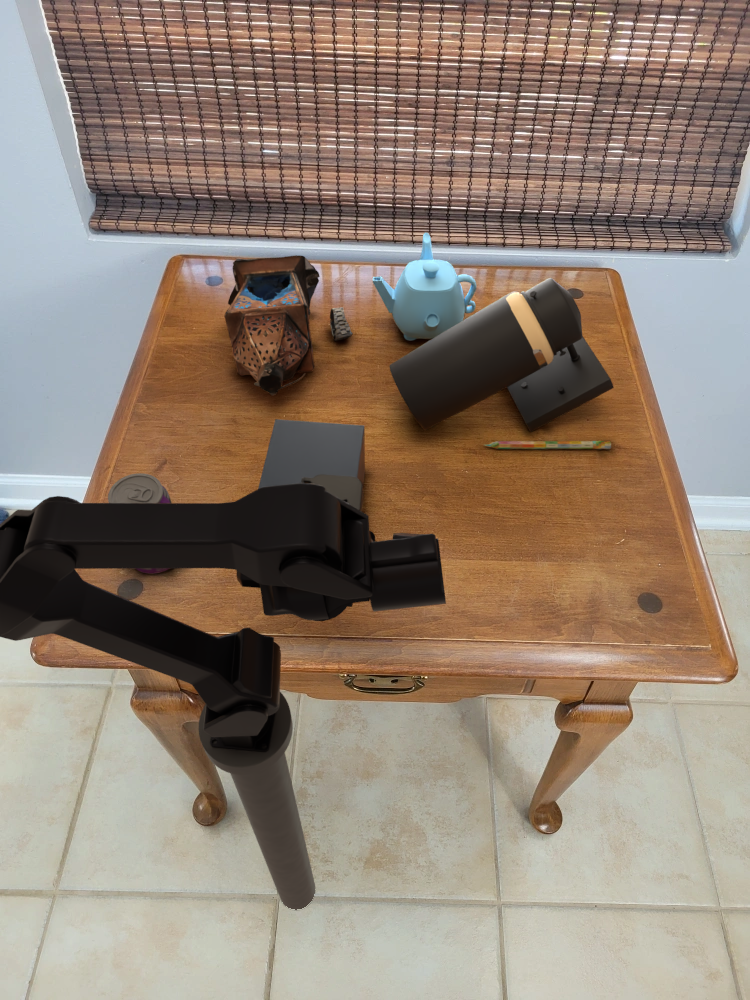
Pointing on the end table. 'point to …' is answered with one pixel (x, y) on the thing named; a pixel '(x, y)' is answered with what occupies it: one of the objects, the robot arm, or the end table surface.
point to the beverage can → (139, 496)
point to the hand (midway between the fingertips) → (344, 546)
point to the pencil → (550, 445)
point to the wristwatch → (339, 324)
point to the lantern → (272, 319)
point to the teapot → (427, 296)
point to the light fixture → (506, 360)
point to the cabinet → (313, 452)
